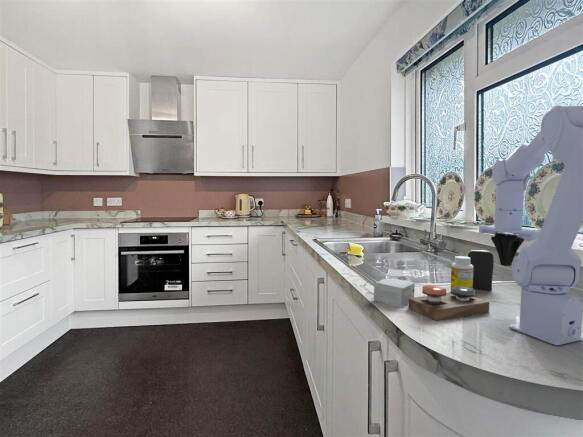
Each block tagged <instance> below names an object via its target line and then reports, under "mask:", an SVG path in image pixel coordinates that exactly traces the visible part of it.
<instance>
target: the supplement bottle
mask: <svg viewBox="0 0 583 437" xmlns="http://www.w3.org/2000/svg"><path fill="white" fill-rule="evenodd" d="M470 262H471V261H470V257H467V256H463V255H457V256H456V255H455V256H454V262H452V263H451V267H450V268H451V269H450V271H451V272H450V288H451V287H455V286H461V287H468V288H472V289H473V265H471V264H470Z"/></svg>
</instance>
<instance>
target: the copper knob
mask: <svg viewBox="0 0 583 437" xmlns="http://www.w3.org/2000/svg"><path fill="white" fill-rule="evenodd" d="M421 289H422V290H421V292H422V294H423V295H424V296H427V304H430V305H432V306H437V305H441V297H442V296H446V293H447V289H446V288H445V287H443V286H440V285H433V284H432V285H430V284H429V285H423V286H422V287H421Z"/></svg>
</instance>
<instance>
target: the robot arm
mask: <svg viewBox="0 0 583 437" xmlns="http://www.w3.org/2000/svg"><path fill="white" fill-rule="evenodd" d="M541 119H542V120H541V122H540V123H541V124H540V129H539V132H537V134H536V135H535V137H533V139H532V140H531V141H530V142H522V143H521V144H520V145H519V146H518V147H516V149H514V151H513V152H512V153H511V154H510V155H509V156H508V157H507V158H506V159H496V161H495V162H494V164H493V166H492V171H491V174H492V175H491V176H492V177H491V178H492V181H493V183H494V184H496V186H495V206H494V223H493V224H494V225H485V224H483V225H479V227H478V233H479V234H489V235H494V236H491V238H490V240H491V241H492V243H493V245H494V248H495V249H496V253H497V255H498V258H499V263H500V266H503V267H510V266H511V275H512V279H513V281H514V282H515V283H516V285H517V286H518V287H520V288H521V289H520V291H521V292H520V308H519V309H520V310H519V323H514V324H509V325H508V327H509V329H512V330H515V331H517V332H520V333H522V334H525V335H528V336H530V337H533V338H535V339H537V340H541V341H543V342H545V343H549V344H550V345H553V346H560V345H561V346H562V345H565V344H570V343H574V342H579V341H582V340H583V336H582V323H583V305H582V302H581V300H580V299H579V298H577V297H575V296H572V295H570V294H571V289H573V288H574V287H576V285H577V284H578V282H579V281H580V273H581V272H580V270H581V266H582V264H583V261H582V259H581V257H580V256H579V254H578V252H576V251H575V250H574V249H573V248H572V247H573V245H574V243H575V240H576V238H577V236H578V234H579V231H580V228H581V226H582V224H583V105H567V106H566V105H559V104H558V105H553V106H551V107H550V108H549V109H548V110H547V111H546V112H545V114H544V115H543V116H542V118H541ZM549 152H550V154H551V156H552V158H553V159H556V160H557V161H559V162H562V164H563V168H562V169H563V170H562V171H561V172H562V173H561V175H560V177H559V180H558V183H557V185H556V188H555V191H554V193H553V197H552V200H551V202H550V205H549V207H548V210H547V213H546V216H545V219H544V221H543V224H542V226H541V228H540V230H535V229H529V228H523V215H524V213H523V212H524V195H525V191H526V190H527V189H528V188H527V187H528V182H529V179H530V178H531V173H532V172H533V171H534V170H536V169H537V168H538V167H539V166H540V165H542V164H543V163H544V162H545V158H546V154H547V153H549ZM525 239H529V240H534V241H532V242H530V243H528V244H525V245H524V246H522V247H521V245H522V244H523V243H524V241H525ZM519 248H520V250H519ZM518 250H519V253H518V255H517V256H516V254H517V251H518ZM569 293H570V294H569Z"/></svg>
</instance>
